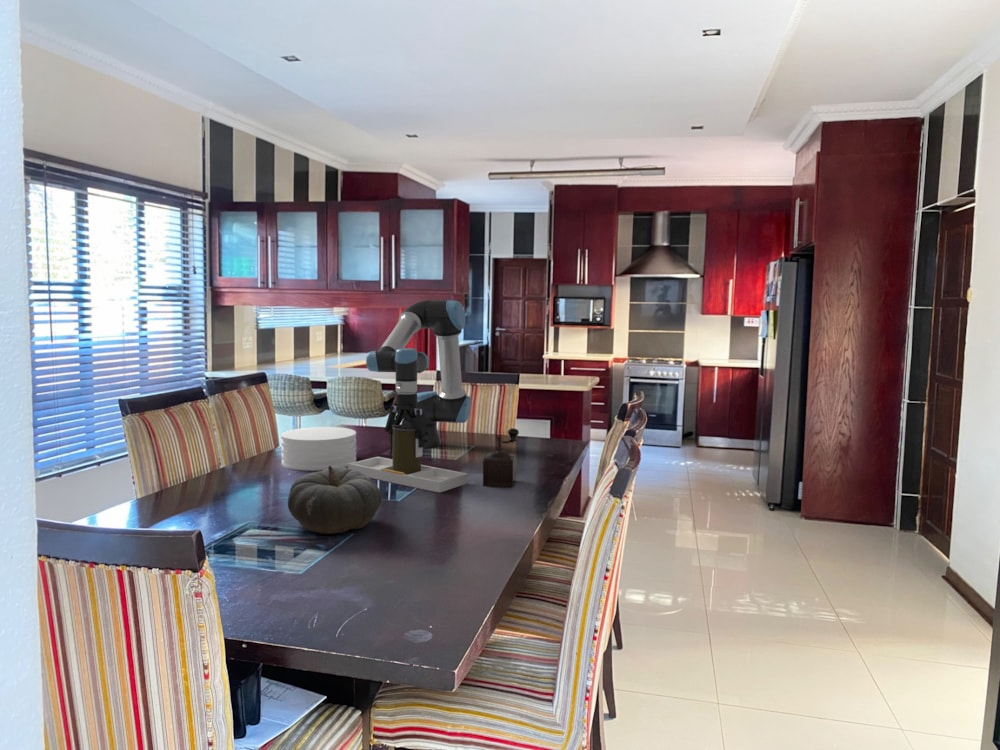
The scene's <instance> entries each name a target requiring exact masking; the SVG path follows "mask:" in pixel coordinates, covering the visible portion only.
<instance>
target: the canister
mask: <svg viewBox="0 0 1000 750" xmlns="http://www.w3.org/2000/svg"><path fill="white" fill-rule="evenodd" d="M392 426H393V427H392ZM392 426H391V443H390V457H392V459H393V466H392V470H393V471H398V472H403V473H404V474H406V475H409V474H412V473H416V472H419V471H421V465H422V456H421V457H416V438H417V435H416V433H415V431H416V429H413V427H412V425H411V423H410V422H409V421H408V420H406V419H403V420H402V421H401V423H400V425H392ZM392 429H393V453H392Z"/></svg>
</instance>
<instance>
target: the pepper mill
mask: <svg viewBox="0 0 1000 750" xmlns="http://www.w3.org/2000/svg"><path fill="white" fill-rule="evenodd" d="M507 434H508V435H509V439H508V440H507V441H506V440H503V441H502V436H500V435H499V436H497V450H496V451H493V452H491V453H486V455H485V456H484V458H483V459H482V487H492V488H493V487H494V488H513V487H514V486H515V484H516V483H517V480H516V454H512V453H510V452H511V451H508V452H506V451H505V450H502V447H501V446H502V444H510V443H512V444H513V443H515V442H517V441H518V439H517V437H518V435H519V434H520V432H519V430H518V429H517V428H509V429H508V431H507Z"/></svg>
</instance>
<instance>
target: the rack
mask: <svg viewBox="0 0 1000 750" xmlns="http://www.w3.org/2000/svg"><path fill="white" fill-rule="evenodd" d="M392 466H393V458H392V459H391V458H387V457H383V456H382V457H381V456H375V457H370V458H366V459H362V460H358V461H357V460H356V462H353V463H349V464H348V466H347V468H348V469H351V470H352V471H359V472H361V473H363V474H364V475H366V476H367V477H369V478H370V479H374V480H378V481H384V482H387V483H393V484H396V485H402V486H405V487H411V488H416V489H421V490H425V491H430V492H434V493H443V492H446V491H448V490H452V489H455V488H457V487H461V486H464V485H467V484H468V479H469V477H468V473H466V472H460V471H457V470H452V469H445V468H439V467H434V466H429V465H424V464H421V471H419V472H416V473H412V474H409V475H406V474H404V473H403V472H398V471H393V470H392Z"/></svg>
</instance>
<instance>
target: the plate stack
mask: <svg viewBox="0 0 1000 750" xmlns="http://www.w3.org/2000/svg"><path fill="white" fill-rule="evenodd" d="M280 435H281V436H280V439H281V441H280V444H281V448H280V449H281V450H280V451H281V454H280V455H281V466H282V467H284V468H286V469H291V470H296V471H323V470H325V469H328V467H329V466H331V467H332V468H333V467H335V466H341V467H345V468H348V464H349V463H353V462H357V444H356V443H357V438H356V437H357V432H356V430H354V429H351V428H349V427H339V426H311V427H301V428H293V429H290V430H286V431H284V432H282V433H281V434H280Z"/></svg>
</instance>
